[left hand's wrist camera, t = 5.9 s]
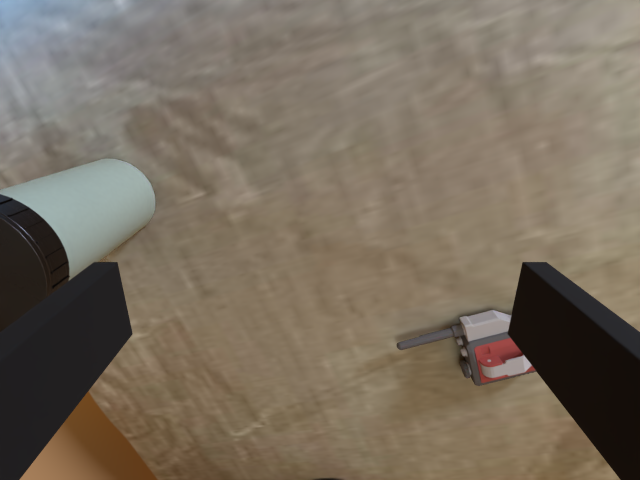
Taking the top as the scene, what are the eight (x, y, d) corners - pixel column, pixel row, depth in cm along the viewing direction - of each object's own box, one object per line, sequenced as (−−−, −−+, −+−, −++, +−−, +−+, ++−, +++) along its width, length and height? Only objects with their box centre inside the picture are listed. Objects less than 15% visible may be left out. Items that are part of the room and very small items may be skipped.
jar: (101, 141, 38) (-64, 178, 22) (170, 192, 40) (66, 262, 24) (63, 201, 40) (-112, 275, 24) (130, 247, 42) (10, 345, 26)
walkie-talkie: (561, 287, 44) (392, 332, 46) (586, 307, 40) (399, 356, 42) (568, 347, 47) (409, 387, 49) (591, 372, 43) (417, 414, 45)
